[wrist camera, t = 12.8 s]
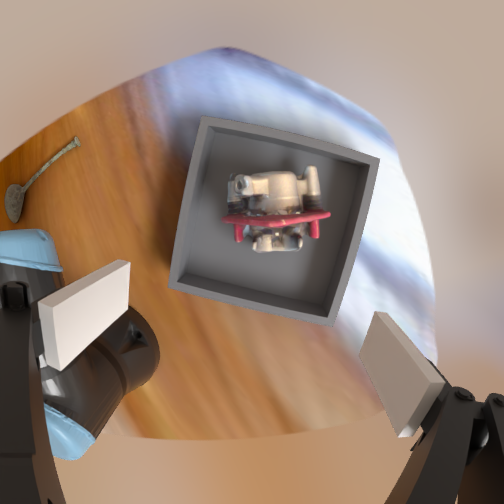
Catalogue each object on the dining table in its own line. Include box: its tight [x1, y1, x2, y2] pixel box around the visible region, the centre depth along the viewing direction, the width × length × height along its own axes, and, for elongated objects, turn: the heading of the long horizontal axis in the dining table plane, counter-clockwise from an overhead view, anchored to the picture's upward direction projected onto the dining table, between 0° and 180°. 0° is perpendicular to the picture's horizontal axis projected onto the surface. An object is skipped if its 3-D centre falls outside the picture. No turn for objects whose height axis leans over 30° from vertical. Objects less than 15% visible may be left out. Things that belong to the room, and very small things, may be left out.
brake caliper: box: [221, 165, 331, 253], centre depth 31 cm, size 11×11×12 cm
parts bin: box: [168, 116, 380, 327], centre depth 34 cm, size 20×20×5 cm
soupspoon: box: [5, 136, 80, 223], centre depth 37 cm, size 22×3×7 cm
